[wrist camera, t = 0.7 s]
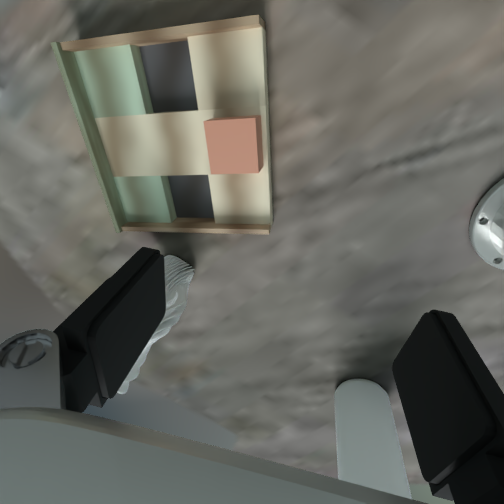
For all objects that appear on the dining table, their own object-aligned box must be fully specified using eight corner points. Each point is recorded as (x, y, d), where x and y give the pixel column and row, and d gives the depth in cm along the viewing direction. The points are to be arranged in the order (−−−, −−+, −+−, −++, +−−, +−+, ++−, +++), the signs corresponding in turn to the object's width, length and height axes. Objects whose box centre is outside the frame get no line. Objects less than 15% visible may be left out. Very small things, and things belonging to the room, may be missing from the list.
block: (260, 114, 28) (255, 117, 26) (263, 165, 31) (258, 173, 28) (213, 118, 29) (203, 121, 27) (219, 167, 32) (210, 174, 29)
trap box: (265, 22, 26) (257, 13, 23) (273, 222, 36) (268, 236, 32) (80, 47, 30) (50, 42, 27) (133, 220, 40) (116, 232, 37)
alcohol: (379, 413, 50) (440, 744, 25) (329, 402, 52) (339, 706, 26) (395, 383, 46) (490, 750, 21) (340, 371, 47) (366, 704, 22)
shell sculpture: (162, 234, 40) (67, 325, 25) (212, 264, 41) (150, 369, 26) (145, 272, 45) (55, 369, 29) (190, 299, 46) (126, 406, 30)
